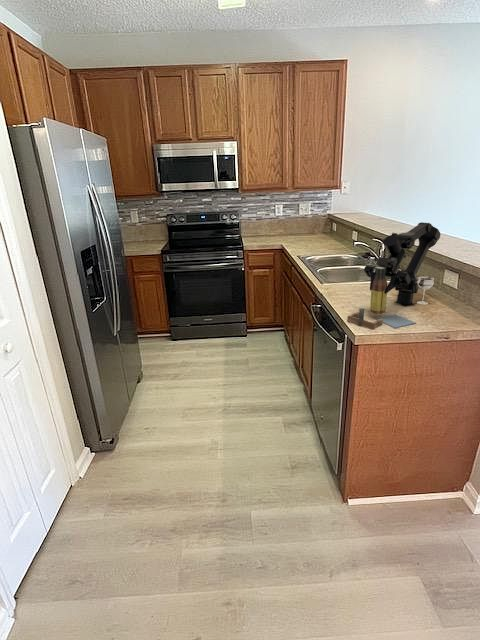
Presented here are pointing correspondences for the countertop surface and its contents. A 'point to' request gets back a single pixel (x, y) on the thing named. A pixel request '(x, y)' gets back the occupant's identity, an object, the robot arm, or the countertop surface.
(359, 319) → the c holder
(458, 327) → the countertop surface
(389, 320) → the slate mat
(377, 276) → the sauce bottle
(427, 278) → the wineglass
